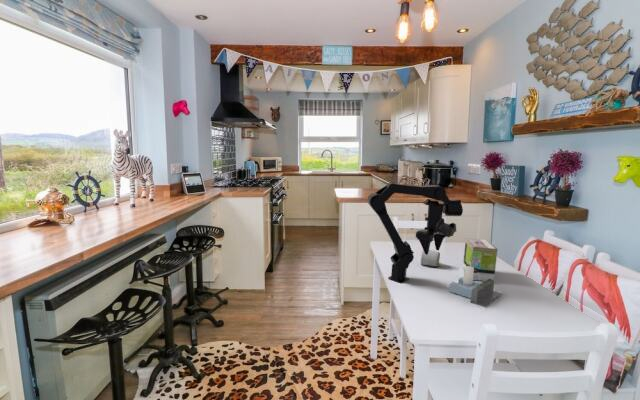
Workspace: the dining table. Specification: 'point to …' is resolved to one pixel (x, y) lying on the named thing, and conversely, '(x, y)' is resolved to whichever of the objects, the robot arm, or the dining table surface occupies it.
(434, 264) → the ceramic mug
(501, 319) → the dining table surface
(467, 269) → the dowel
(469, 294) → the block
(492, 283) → the stop wall
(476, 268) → the tea box
